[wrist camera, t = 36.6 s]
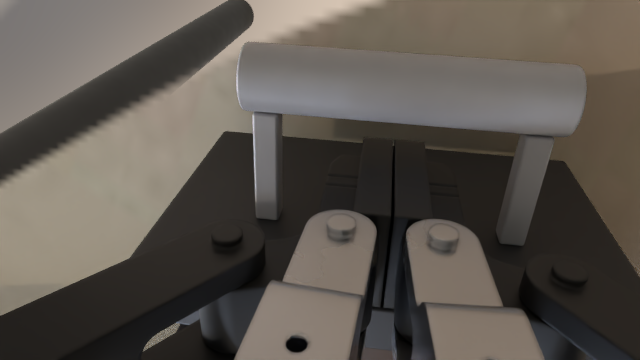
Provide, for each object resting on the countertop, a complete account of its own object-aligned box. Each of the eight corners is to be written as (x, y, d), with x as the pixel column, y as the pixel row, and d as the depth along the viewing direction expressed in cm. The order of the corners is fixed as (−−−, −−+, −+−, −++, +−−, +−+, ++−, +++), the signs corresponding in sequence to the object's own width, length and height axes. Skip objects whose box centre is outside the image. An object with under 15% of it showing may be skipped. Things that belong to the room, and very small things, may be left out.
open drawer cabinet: (215, -2, 15) (69, 76, 8) (607, 22, 14) (805, 134, 7) (241, 401, 24) (182, 592, 18) (478, 435, 23) (513, 653, 17)
